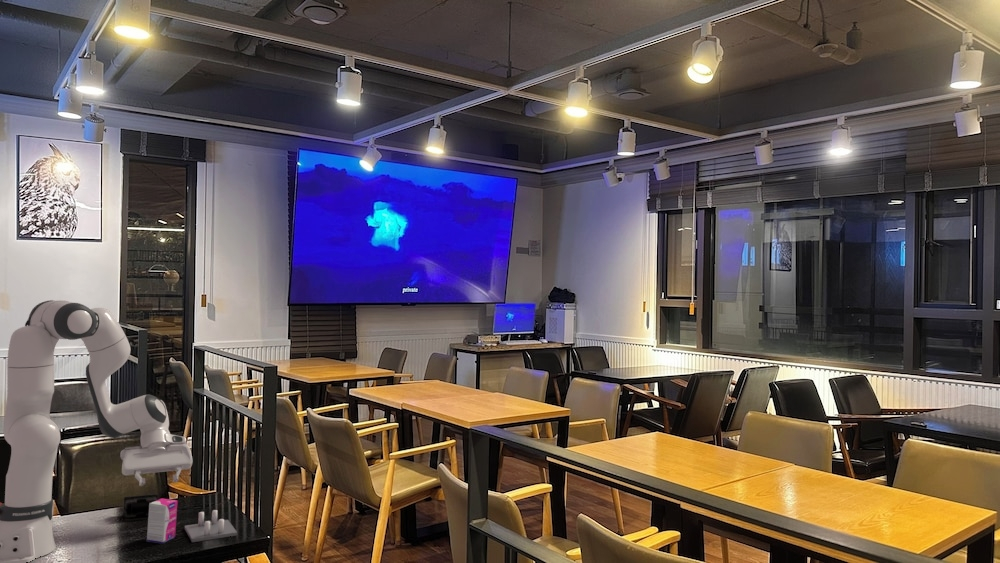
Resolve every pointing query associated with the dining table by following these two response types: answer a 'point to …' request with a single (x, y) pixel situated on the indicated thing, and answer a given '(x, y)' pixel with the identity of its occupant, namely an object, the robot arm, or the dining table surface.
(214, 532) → the pin tray
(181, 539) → the dining table surface
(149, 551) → the dining table surface
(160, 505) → the supplement box
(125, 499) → the end cap
